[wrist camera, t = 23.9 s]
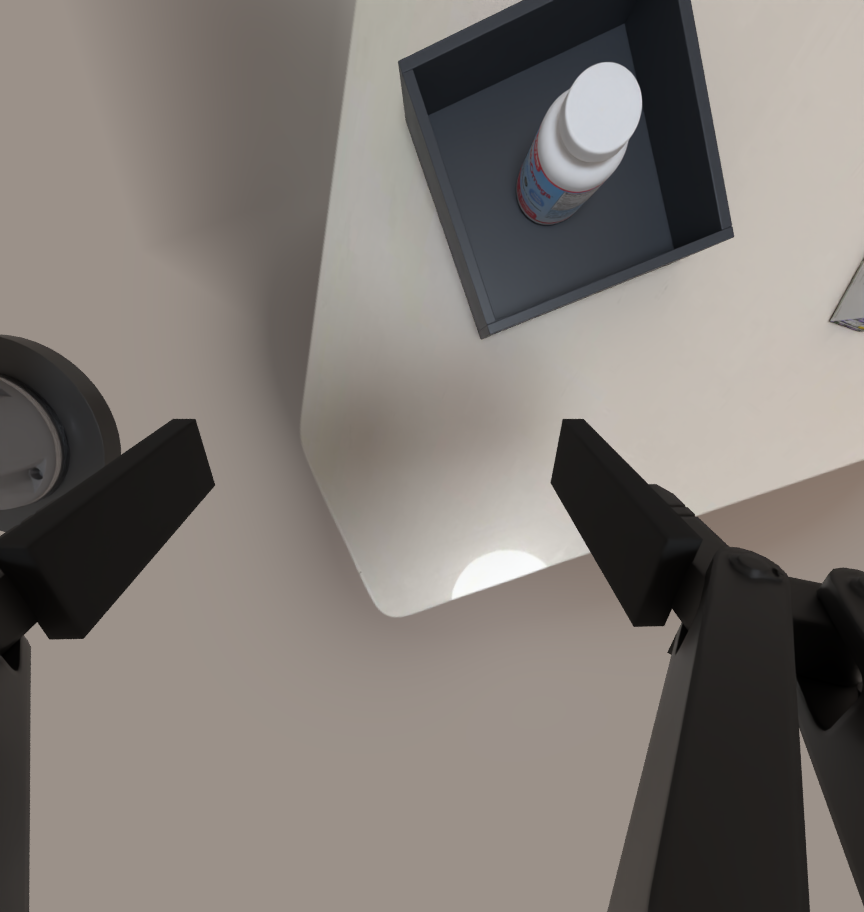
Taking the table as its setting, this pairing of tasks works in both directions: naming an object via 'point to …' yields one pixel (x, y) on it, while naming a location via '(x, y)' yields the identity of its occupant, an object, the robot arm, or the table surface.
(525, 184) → the pill bottle
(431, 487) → the table surface
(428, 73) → the tray
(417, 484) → the table surface
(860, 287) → the ink box
